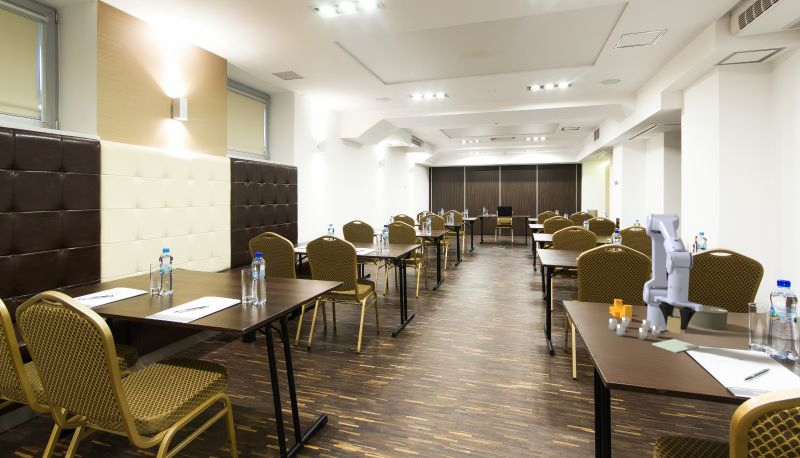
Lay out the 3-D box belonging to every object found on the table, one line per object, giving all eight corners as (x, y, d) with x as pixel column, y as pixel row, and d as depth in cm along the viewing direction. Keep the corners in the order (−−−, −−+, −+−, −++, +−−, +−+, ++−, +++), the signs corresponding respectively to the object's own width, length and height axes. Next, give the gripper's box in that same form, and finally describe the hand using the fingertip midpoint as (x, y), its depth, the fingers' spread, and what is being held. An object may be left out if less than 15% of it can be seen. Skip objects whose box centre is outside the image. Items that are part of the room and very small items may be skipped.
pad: (674, 340, 142) (674, 339, 142) (698, 347, 135) (698, 346, 135) (651, 344, 138) (651, 343, 138) (675, 352, 130) (675, 351, 130)
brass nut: (673, 328, 139) (674, 314, 139) (687, 332, 135) (688, 317, 135) (664, 330, 137) (664, 315, 137) (677, 334, 133) (678, 319, 133)
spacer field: (630, 324, 160) (631, 314, 160) (668, 336, 147) (668, 325, 146) (600, 330, 153) (601, 319, 153) (637, 342, 140) (637, 330, 140)
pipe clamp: (609, 313, 178) (610, 299, 177) (619, 314, 177) (620, 299, 176) (620, 321, 166) (620, 305, 165) (631, 321, 165) (632, 306, 165)
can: (688, 319, 168) (689, 303, 168) (725, 324, 162) (726, 307, 161) (689, 326, 159) (690, 309, 158) (728, 332, 152) (729, 314, 151)
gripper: (649, 284, 140) (647, 322, 141) (693, 292, 127) (691, 335, 128) (662, 282, 143) (660, 320, 144) (707, 290, 130) (705, 332, 131)
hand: (676, 327), depth 136 cm, fingers closed on brass nut, 4 cm apart
